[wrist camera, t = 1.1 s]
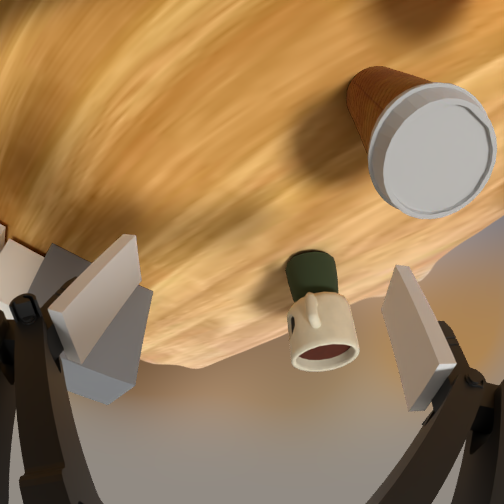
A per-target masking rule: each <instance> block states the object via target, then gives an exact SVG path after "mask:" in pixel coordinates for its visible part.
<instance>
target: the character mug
mask: <svg viewBox="0 0 504 504" xmlns="http://www.w3.org/2000/svg"><path fill="white" fill-rule="evenodd" d="M285 271H286V275H287V279H288V284H289V287H290V290H291V294H292V297H293V300H294V302H295V303H294V304H293V305H292V307H291V308H290V310H289V311H288V313H287V322H288V332H289V342H290V355H291V363H292V365H293V366H294V367H295V368H297V369H299V370H303V371H310V372H319V371H328V370H333V369H336V368H339V367H342V366H344V365H346V364H348V363H350V362H352V361H353V360H354V359H355V358H356V357H357V356H358V354H359V344H358V339H357V335H356V330H355V326H354V321H353V318H352V313H351V308H350V305H349V302H348V301H347V299H346V298H345V297H344V296H343V295H340V294H338V279H337V271H336V264H335V261H334V258H333V257H332V256H330V255H329V254H327V253H322V252H309V253H303V254H300V255H297V256H294V257H293V258H292V259H291V260H290V261H289V262H288V263H287V267H286V270H285Z"/></svg>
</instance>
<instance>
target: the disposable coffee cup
mask: <svg viewBox="0 0 504 504" xmlns="http://www.w3.org/2000/svg"><path fill="white" fill-rule="evenodd" d="M346 103H347V107H348V110H349V112H350V114H351V116H352V118H353V121H354V123H355V125H356V128H357V130H358V132H359V135H360V137H361V140H362V142H363V145H364V147H365V149H366V152H367V154H368V167H369V174H370V177H371V180H372V182H373V185H374V187H375V189H376V190H377V192H378V193H379V195H380V196H381V197H382V198H383V199H384V200H385V201H386V202H387V203H388V204H390V205H391V206H393V207H395V208H397V209H399V210H401V211H402V212H403V213H405V214H407V215H409V216H411V217H415V218H419V219H435V218H441V217H444V216H448V215H450V214H452V213H455V212H457V211H459V210H460V209H462V208H463V207H465V206H466V205H468V204H469V203H470V202H471V201H472V200H473V199H474V198H475V197H476V196H477V195H478V194H479V193H480V192H481V191H482V189H483V187H484V186H485V184H486V183H487V181H488V180H489V178H490V175H491V173H492V170H493V167H494V164H495V161H496V153H497V142H496V135H495V132H494V128H493V126H492V124H491V121H490V120H489V118H488V116H487V114H486V112H485V110H484V108H483V107H482V105H481V103H480V102H479V101H478V100H477V99H476V98H475V97H474V96H473V95H472V94H471V93H469V92H468V91H467V90H465V89H463V88H461V87H459V86H456V85H453V84H450V83H438V82H430V81H428V80H425V79H422V78H419V77H416V76H413V75H410V74H407V73H403V72H400V71H397V70H393V69H390V68H387V67H383V66H375V67H369V68H367V69H365V70H362V71H361V72H359V73H358V74H357V75H356V76H355V77H354V78H353V80H352V81H351V83H350V84H349V87H348V89H347V95H346Z"/></svg>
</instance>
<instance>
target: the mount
mask: <svg viewBox="0 0 504 504" xmlns="http://www.w3.org/2000/svg"><path fill="white" fill-rule="evenodd" d="M91 264H92V263H90V262H88V261H86V260H84V259H82V258H80V257H78V256H76V255H74V254H72V253H70V252H68V251H66V250H64V249H62V248H61V247H59V246H57V245H55V244H53V243H52V244H51V246H50V248H49V250H48V252H47V254H46V256H45V258H44V260H43V262H42V263H41V265H40V267H39V269H38V271H37V274H36V276H35V278H34V280H33V282H32V284H31V286H30V288H29V290H28V293H30V294H33V295H35V296H36V299H37V301H38V304H39V307H40V308H41V307H42V306H43V305H44V304H45V303H46V302H47V301H48V300H49V299H50V298H51V297H52V295H53V294H55V292H56V291H57V290H58V289H60V287H61V286H62V285H63V284H64V283H65V282H66V281H68V280H70V279H72V278H73V277H75V276H76V277H79V276H80V275H81V274H82V273H83V272H84V271H85V270H86V269H87V268H88V267H89V266H90V265H91ZM152 295H153V291H151V290H149V289H146V288H144V287H142V286H140V285H138V286H137V287H136V288H135V290H134V291H133V292H132V294H131V295H130V296H129V298H128V299H127V301H126V302H125V303H124V305H123V306H122V307H121V309H120V310H119V312H118V313H117V314H116V316H115V317H114V318H113V320H112V321H111V323H110V324H109V325H108V327H107V328H106V330H105V331H104V333H103V334H102V335H101V337H100V338H99V340H98V341H97V343H96V344H95V346H94V347H93V348H92V350H91V351H90V353H89V354H88V356H87V357H86V359H85V360H84V362H83V363H82V364H79V363H76V362H74V361H71V360H68V358H67V356H66V354H65V352H64V350H63V351H62V353H61V354H60V355H59V356H60V358H61V360H62V365H63V371H64V376H65V382H66V387H67V390H68V391H70V392H73V393H75V394H78V395H81V396H84V397H86V398H89V399H92V400H95V401H98V402H101V403H104V404H107V405H109V404H110V403H111V402H113V401H114V400H115V399H117V398H118V397H120V396H121V395H123V394H124V393H125V392H127V391H128V390H130V389H131V388H132V387H134V386H135V384H136V377H137V372H138V365H139V360H140V354H141V349H142V344H143V338H144V333H145V328H146V323H147V318H148V313H149V309H150V304H151V299H152Z"/></svg>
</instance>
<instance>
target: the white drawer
mask: <svg viewBox="0 0 504 504" xmlns="http://www.w3.org/2000/svg"><path fill="white" fill-rule="evenodd" d="M5 228H6V227H5V226H3V225H1V224H0V310H2V311H3V312H4V314H5V317H6V319H14V318H13V315H12V313H11V311H10V308H9V304H10V302H11V301H12V300H13V299H14V298H15V297H17V296H19V295H21V294H26V293H28V290H29V288H30V286H31V284H32V282H33V280H34V278H35V276H36V274H37V271H38V269H39V267H40V265H41V263H42V262H43V260H44V258H45V257H43V256H41V255H39V254H37V253H35V252H33V251H31V250H30V249H28V248H26V247H24V246H22V245H20V244H19V243H17V242H15V241H13V240H11V239H10V238H9V240H8V242H7V243H6V245H5V246H4V244H5Z"/></svg>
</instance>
